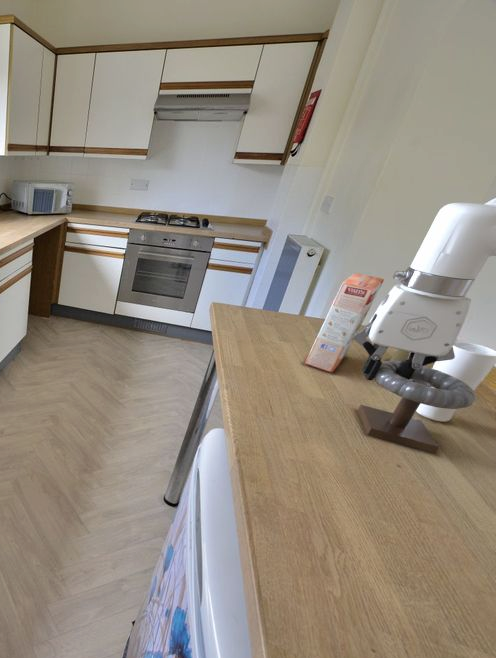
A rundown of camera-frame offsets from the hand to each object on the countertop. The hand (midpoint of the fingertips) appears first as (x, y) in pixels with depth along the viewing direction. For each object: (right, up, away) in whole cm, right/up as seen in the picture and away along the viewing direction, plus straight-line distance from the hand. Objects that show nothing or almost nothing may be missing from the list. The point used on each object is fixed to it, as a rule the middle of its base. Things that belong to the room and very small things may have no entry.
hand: (381, 379), depth 74 cm
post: (+4, -10, +2) cm, 10 cm away
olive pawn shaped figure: (+31, +1, +26) cm, 41 cm away
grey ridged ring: (+4, 0, -3) cm, 5 cm away
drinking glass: (+17, -8, +7) cm, 20 cm away
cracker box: (+12, +2, +27) cm, 30 cm away
